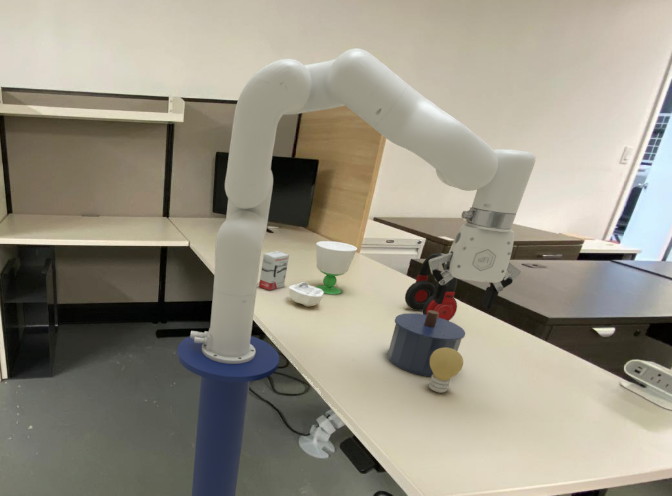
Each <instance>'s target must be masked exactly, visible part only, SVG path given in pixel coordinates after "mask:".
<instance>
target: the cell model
mask: <svg viewBox="0 0 672 496" xmlns="http://www.w3.org/2000/svg"><path fill="white" fill-rule="evenodd" d="M288 289H289V297H290V299H291V300H292V301H293V302H294V303H297V304H301V305H303V306H304V307H313V306H317V305H319V303H321V300H322V299H323V295H324V294H325V293H324V292H323V291H322V290H321V289H319V288H316V286H314V285H309V284H308V283H307V282H306V281H301V282H299V283H295V284H291V285H289V286H288Z"/></svg>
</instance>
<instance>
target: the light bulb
mask: <svg viewBox="0 0 672 496" xmlns="http://www.w3.org/2000/svg"><path fill="white" fill-rule="evenodd" d="M463 366H464V358H463V356H462V355H461V353H460V352H459V351H456V350H454V349H452V348H439V349H437V350H435V351H434V352H433V353H432V355H431V357H430V367H431V369H432V371H433V375H432V377H430V380H429V383H428V387H429V388H430V390H431V391H434V392H436V393H442V394H443V393H445V392H447V391H448V387H449V386H450V383H451V378H453V377H455V376H456V375H457V374H459V372H461V370H462V369H463Z"/></svg>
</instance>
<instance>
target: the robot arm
mask: <svg viewBox="0 0 672 496" xmlns="http://www.w3.org/2000/svg"><path fill="white" fill-rule="evenodd" d="M340 107H346V108H348V109H349V110H350V111H351V112H353V113H354V114H355V115H356V116H357V117H359V118H360V119H361V120H362V121H364V122H365V123H366V124H368V125H369V126H370V127H372V128H373V129H374V130H375V131H376V132H377V133H379V134H380V135H381V136H383V138H385V139H387V140H388V141H390V142H391V143H393V144H394V145H397V147H400V148H403V149H406V150H407V151H410V152H411V153H413V154H415V155H416V156H417V157H419V158H421V159H422V160H423V161H425V162H426V163H428V164H429V165H430V166H431V167H432V168H434V169H435V173H436V176H437V178H438V179H439V180H440V181H441V182H442V183H443V184H444V185H447V186H449V187H452V188H454V189H455V188H456V189H458V190H461V191H465V192H466V191H467V192H471V191H472V192H473V191H475V195H474V197H473V202H472V205H471V207H469V210H463V211H462V213H461V218H462V219H465V222H466V223H462V225H461V226H460V228H459V229H458V231H457V233H456V235H455V238H454V240H453V242H452V243H451V246H450V249H449V250H448V252H447V253H443V254H444V255H442V256H439V257H436V258H433V259H430V260H429V266H430V270H431V271H430V274H431V275H432V277H433V278H434V280H435V281H436V283H435V285H434V286H435V288H434V292H433V300H434V301H435V302H436V303H437V304H442V302H443V299H444V296H445V293H446V290H447V286H446V283H447V282H448V281H450V280H451V279H453V278H454V277H455V278H457V280H458V279H459V280H465V281H474V282H482V283H488V284H489V286H487V287H486V288H485V291H484V294H483V296H482V299H481V302H480V306H482V307H483V308H484V309H485V310H486V311H491V310H492V308H493V306H494V305H495V304H496V300H497V298H498V295H499V293H501V292H503V290H504V289H505V288H507V287H508V286H510V285H511V284H512V283H513V281H515V280H516V279H517V278H518V277H519V275H521V273H522V271H521V270H520V269H519V268H518V267H516V266H515V265H513V264H512V263H511V262H510V261H511V256H512V254H513V253H512V252H513V248H514V242H515V234H516V231H514V230H512V227H513V225H514V221H515V219H516V216H517V214H518V210H519V207H520V204H521V202H522V199H523V197H524V194H525V191H526V189H527V186H528V183H529V181H530V178H531V175H532V172H533V169H534V167H535V163H536V156H535V154H534V153H533V152H532V151H527V150H520V149H510V148H497V149H493V148H492V147H491V146H490V145H489V144H488V143H487V142H486V141H484V140H483V138H481V137H480V136H478V134H476V133H475V132H474V131H472V130H471V129H470V128H468V127H467V125H465V124H464V123H463V122H461V121H459V120H458V119H457V118H455V117H454V116H452V115H451V114H449V113H448V112H446V111H444V110H443V109H442V108H440V107H439V106H438V105H436V104H435V103H434V102H433V101H431V100H429V99H428V98H426V97H425V96H424V95H422V94H421V93H420V92H419V91H417V90H416V89H415V88H413V87H412V86H411V85H410V84H408V83H407V82H406V81H405V80H404V79H402V78H401V77H400V76H399V75H398V74H396V73H395V72H394V71H392V69H390V68H389V67H388V66H387V65H386V64H384V63H383V62H382V61H381V60H379V59H378V58H377V57H376V56H374V55H373V54H372V53H370V52H369V51H368V50H365V49H363V48H359V47H355V48H350V49H347V50H346V51H344V52H342V53H341V54H340V55H338V56H337V58H335V59H331V60H325V61H321V62H315V63H309V64H303V63H302V62H301V61H299V60H298V59H295V58H282V59H277V60H275V61H273V62H271V63H268V64H267V65H265V66H263V67H262V68H261V69H259V70H258V71H257V72H255V73H254V74H253V75H252V77H251V78H249V80H248V81H247V82H246V83H245V85H244V87H243V88H242V90H241V92H240V94H239V97H238V98H237V103H236V105H235V110H234V115H233V121H232V128H231V136H230V143H229V150H228V158H227V159H228V160H227V166H226V167H227V168H226V173H225V180H224V191H225V195H226V197H227V207H226V208H227V209H226V217H225V220H224V221H223V222H222V224H221V225H220V227H219V229H218V230H217V234H216V237H215V243H214V275H213V291H212V303H211V311H210V312H211V314H210V325H209V328H208V331H206V330H204V333H203V332H202V331H197V330H191V331H190V335H189V336H190V339H194V343H203V344H202V353H203V354H204V355H205V356H206V357H207V358H209V359H211V360H213V361H216V362H220V363H226V364H241V363H246V362H248V361H250V360H252V359H253V358H254V357H255V352H256V351H255V348H254V347H253V346H252V345H251V344H250V339H251V336H252V330H253V324H254V323H253V321H254V315H255V305H256V299H257V298H256V297H257V288H258V280H259V273H260V261H261V257H262V256H261V255H262V249H263V244H264V241H265V239H266V234H267V229H268V223H269V215H270V208H271V202H272V194H273V186H274V174H273V171H272V160H273V155H274V154H273V153H274V149H275V148H274V146H275V143H276V135H277V130H278V124H279V123H280V120H281V118H282V117H283V116H291V115H299V114H304V113H311V112H317V111H324V110H330V109H335V108H340ZM442 263H445V267H444V269H445V270H444V269H443V271H440V270H439V266H440V265H442Z"/></svg>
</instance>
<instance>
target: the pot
mask: <svg viewBox="0 0 672 496" xmlns="http://www.w3.org/2000/svg"><path fill="white" fill-rule="evenodd" d="M461 342H462V339H460V340H455V341H442V340H434V339H429V338H425V337H421V336H418V335H415V334H412V333H409V332H407V331H405V330H403V329H402V328H400V327H399V326H398V325H397V324H396V323H395V325H394V329H393V333H392V336H391V340H390V344H389V348H388V351H387V359H388V361H389V362H390V363H391V364H393V365H394V366H395V367H397V368H399V369H401V370H403V371H406V372H407V373H410V374H414V375H418V376H422V377H423V376H424V377H430V378H431V377H432V375H433V371H432V369H431V367H430V357H431V355H432V353H433V352H434V351H435V350H437V349H439V348H452V349H454V350H456V351H457V352H459V347H460V345H461Z"/></svg>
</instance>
